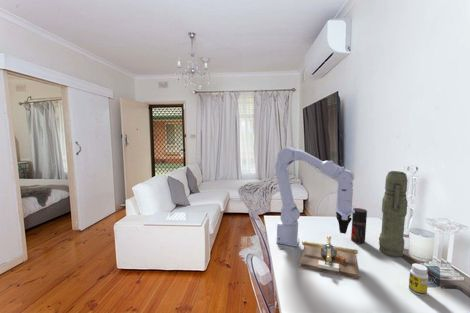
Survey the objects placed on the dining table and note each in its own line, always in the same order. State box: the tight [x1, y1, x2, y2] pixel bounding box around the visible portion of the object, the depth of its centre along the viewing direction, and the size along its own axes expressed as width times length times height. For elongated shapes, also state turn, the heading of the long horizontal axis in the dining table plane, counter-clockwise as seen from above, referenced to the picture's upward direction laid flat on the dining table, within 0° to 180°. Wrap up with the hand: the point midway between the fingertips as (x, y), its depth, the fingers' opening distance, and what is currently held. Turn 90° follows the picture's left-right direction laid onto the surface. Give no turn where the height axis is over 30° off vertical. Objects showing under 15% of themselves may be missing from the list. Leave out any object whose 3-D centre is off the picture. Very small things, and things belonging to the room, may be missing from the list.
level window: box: [318, 260, 339, 272], centre depth 88 cm, size 7×3×2 cm, turn 69°
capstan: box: [301, 235, 359, 264], centre depth 97 cm, size 21×21×4 cm
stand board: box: [299, 243, 360, 280], centre depth 97 cm, size 20×20×2 cm
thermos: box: [378, 170, 409, 258], centre depth 102 cm, size 9×12×35 cm
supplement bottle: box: [408, 263, 429, 297], centre depth 78 cm, size 5×5×8 cm
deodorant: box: [350, 207, 368, 244], centre depth 114 cm, size 6×6×15 cm
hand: (342, 231), depth 99 cm, fingers open, 3 cm apart
